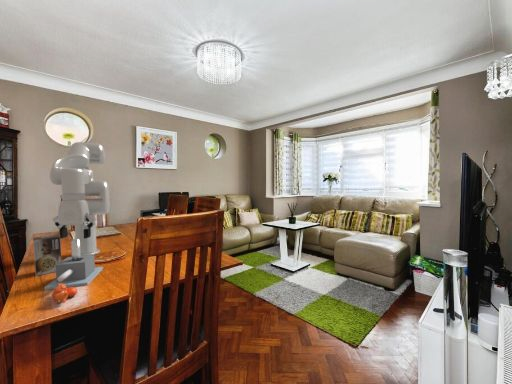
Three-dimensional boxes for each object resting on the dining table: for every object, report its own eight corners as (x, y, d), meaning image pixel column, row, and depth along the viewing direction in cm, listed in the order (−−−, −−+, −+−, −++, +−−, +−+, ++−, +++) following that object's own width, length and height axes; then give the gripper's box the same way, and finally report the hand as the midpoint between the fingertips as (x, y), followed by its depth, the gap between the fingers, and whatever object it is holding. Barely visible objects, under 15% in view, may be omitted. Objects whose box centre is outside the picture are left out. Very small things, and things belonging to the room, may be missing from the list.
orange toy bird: (52, 279, 83) (55, 290, 74) (76, 280, 88) (82, 290, 80) (46, 294, 82) (49, 307, 74) (71, 294, 87) (77, 306, 79)
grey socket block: (67, 272, 105) (67, 254, 104) (103, 268, 109) (102, 252, 108) (37, 294, 84) (36, 273, 83) (83, 289, 88) (82, 268, 87)
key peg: (70, 268, 96) (69, 240, 96) (75, 266, 99) (74, 238, 99) (77, 268, 97) (76, 240, 96) (82, 266, 100) (81, 238, 99)
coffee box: (61, 267, 111) (59, 233, 111) (62, 270, 107) (60, 236, 106) (34, 272, 105) (33, 237, 104) (35, 276, 100) (33, 239, 100)
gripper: (44, 198, 93) (47, 240, 94) (88, 198, 93) (90, 240, 94) (60, 196, 100) (61, 235, 101) (100, 197, 101) (101, 235, 102)
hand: (75, 237), depth 98 cm, fingers open, 9 cm apart
